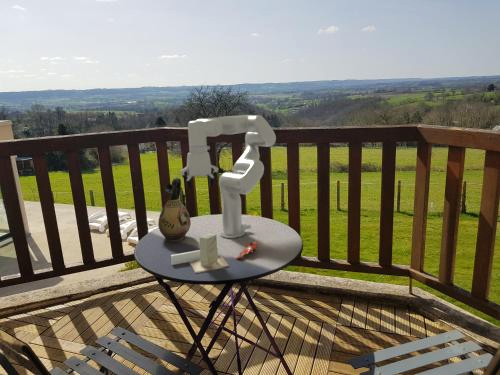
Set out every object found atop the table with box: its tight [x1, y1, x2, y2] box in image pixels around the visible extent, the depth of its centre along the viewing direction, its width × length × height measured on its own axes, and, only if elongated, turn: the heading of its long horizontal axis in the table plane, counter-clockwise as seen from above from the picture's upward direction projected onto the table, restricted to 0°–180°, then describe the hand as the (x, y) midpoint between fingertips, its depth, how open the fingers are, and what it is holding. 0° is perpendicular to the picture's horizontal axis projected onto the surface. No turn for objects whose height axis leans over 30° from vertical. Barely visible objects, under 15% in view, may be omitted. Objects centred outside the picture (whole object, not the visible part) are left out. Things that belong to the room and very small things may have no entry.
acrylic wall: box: [170, 247, 219, 266], centre depth 155 cm, size 20×1×4 cm, turn 113°
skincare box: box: [198, 232, 218, 267], centre depth 149 cm, size 6×4×12 cm
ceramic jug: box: [157, 177, 192, 243], centre depth 177 cm, size 17×15×30 cm
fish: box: [236, 241, 259, 259], centre depth 160 cm, size 13×5×9 cm
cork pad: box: [188, 255, 230, 274], centre depth 150 cm, size 14×10×1 cm
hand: (200, 187), depth 162 cm, fingers open, 9 cm apart
